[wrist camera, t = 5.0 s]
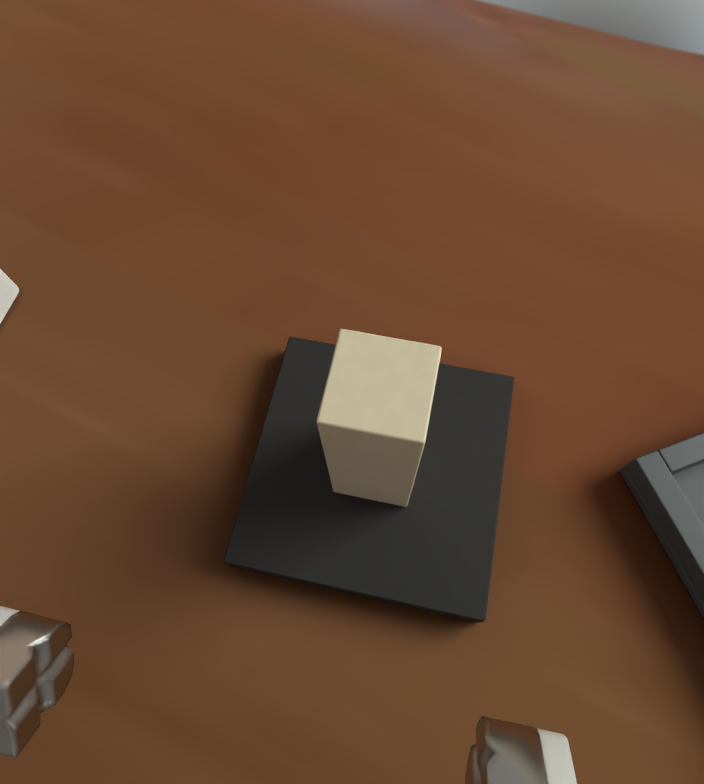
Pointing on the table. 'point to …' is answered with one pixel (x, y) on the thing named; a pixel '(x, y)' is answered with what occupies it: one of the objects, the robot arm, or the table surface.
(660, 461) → the grey shallow rectangular tray
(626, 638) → the table surface
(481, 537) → the loose pad
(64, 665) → the robot arm
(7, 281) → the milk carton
